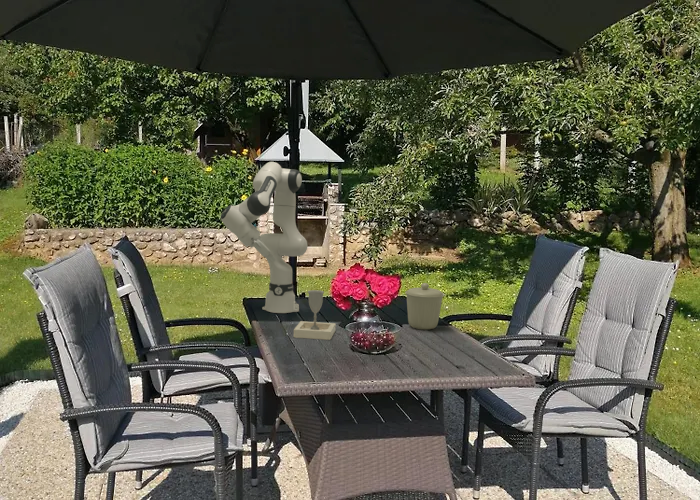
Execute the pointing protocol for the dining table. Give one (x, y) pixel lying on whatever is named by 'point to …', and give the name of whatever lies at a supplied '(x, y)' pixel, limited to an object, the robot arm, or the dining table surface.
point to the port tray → (305, 330)
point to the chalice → (315, 304)
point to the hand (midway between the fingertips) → (273, 259)
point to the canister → (423, 307)
